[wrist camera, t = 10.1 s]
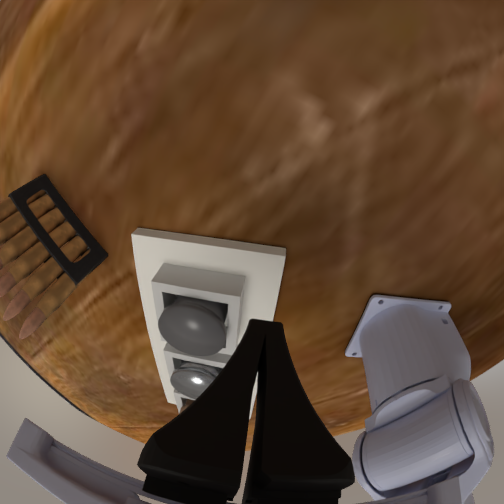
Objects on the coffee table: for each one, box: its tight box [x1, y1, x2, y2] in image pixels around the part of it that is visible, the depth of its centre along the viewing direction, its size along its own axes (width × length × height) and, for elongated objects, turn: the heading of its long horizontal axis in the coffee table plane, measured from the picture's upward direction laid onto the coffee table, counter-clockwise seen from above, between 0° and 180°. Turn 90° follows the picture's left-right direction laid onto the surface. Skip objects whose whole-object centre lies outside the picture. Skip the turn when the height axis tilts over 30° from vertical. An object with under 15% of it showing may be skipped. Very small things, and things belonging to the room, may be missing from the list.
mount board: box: [131, 228, 286, 419], centre depth 26 cm, size 12×27×4 cm, turn 174°
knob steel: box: [170, 360, 223, 400], centre depth 25 cm, size 5×5×4 cm
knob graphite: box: [158, 295, 228, 356], centre depth 21 cm, size 5×5×4 cm
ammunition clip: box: [0, 174, 108, 339], centre depth 16 cm, size 11×2×12 cm, turn 37°
